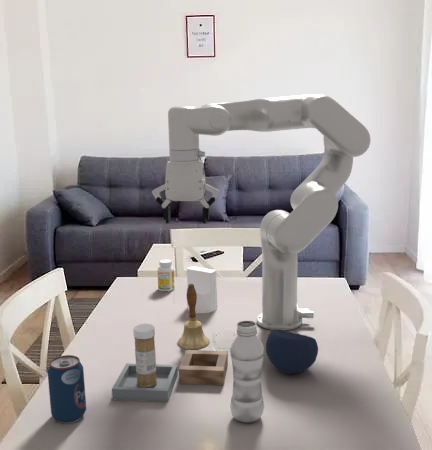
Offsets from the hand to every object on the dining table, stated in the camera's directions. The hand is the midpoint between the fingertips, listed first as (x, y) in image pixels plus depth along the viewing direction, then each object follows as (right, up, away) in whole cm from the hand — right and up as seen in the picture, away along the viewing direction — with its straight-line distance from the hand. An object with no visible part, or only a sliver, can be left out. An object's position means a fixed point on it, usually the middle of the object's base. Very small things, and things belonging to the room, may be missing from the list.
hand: (186, 222), depth 155 cm
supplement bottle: (-9, -22, +41) cm, 47 cm away
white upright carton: (+4, -26, +24) cm, 36 cm away
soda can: (-22, -40, -34) cm, 56 cm away
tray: (-8, -37, -23) cm, 44 cm away
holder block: (+5, -35, -17) cm, 39 cm away
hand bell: (+2, -31, 0) cm, 31 cm away
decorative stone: (+25, -35, -16) cm, 46 cm away
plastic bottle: (+14, -39, -36) cm, 55 cm away
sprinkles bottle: (-8, -36, -23) cm, 43 cm away
